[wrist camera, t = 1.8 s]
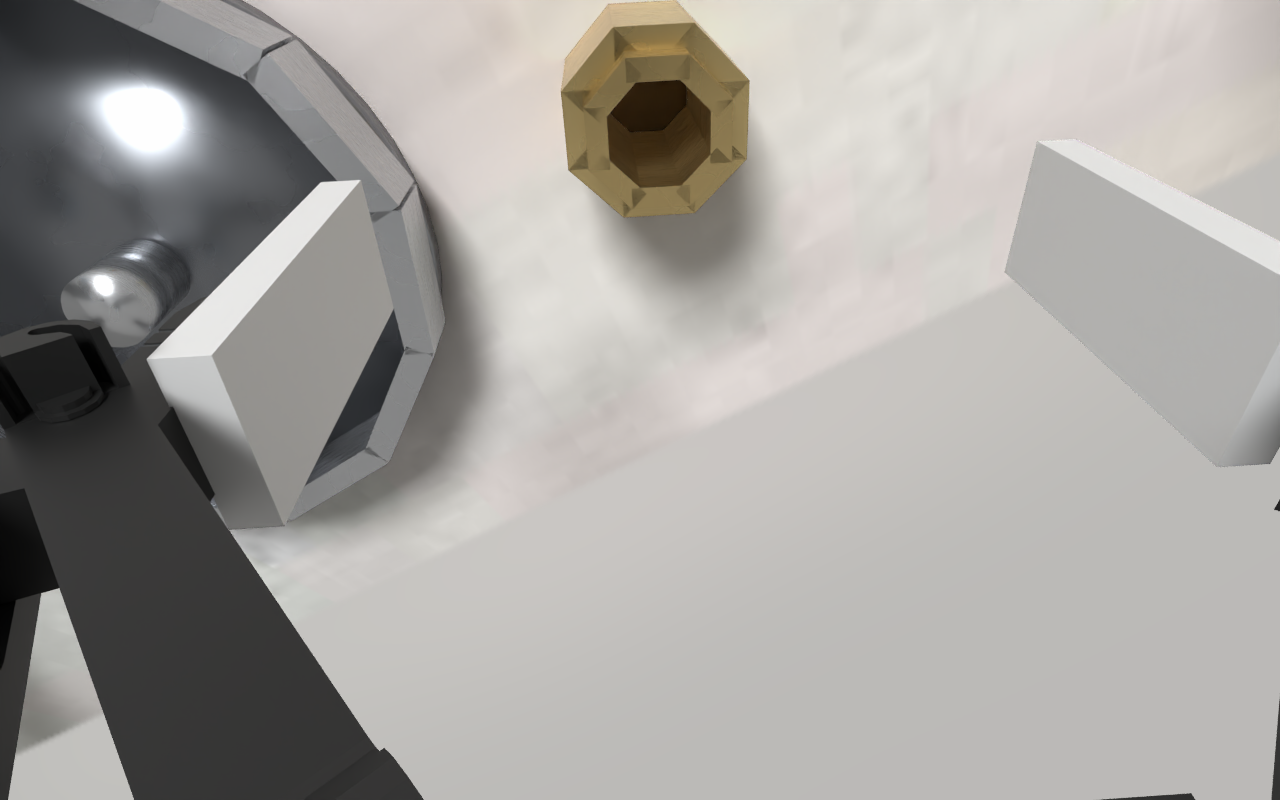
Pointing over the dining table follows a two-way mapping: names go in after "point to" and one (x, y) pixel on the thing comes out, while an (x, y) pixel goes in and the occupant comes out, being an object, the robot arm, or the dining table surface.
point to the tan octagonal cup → (666, 159)
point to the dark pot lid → (196, 185)
